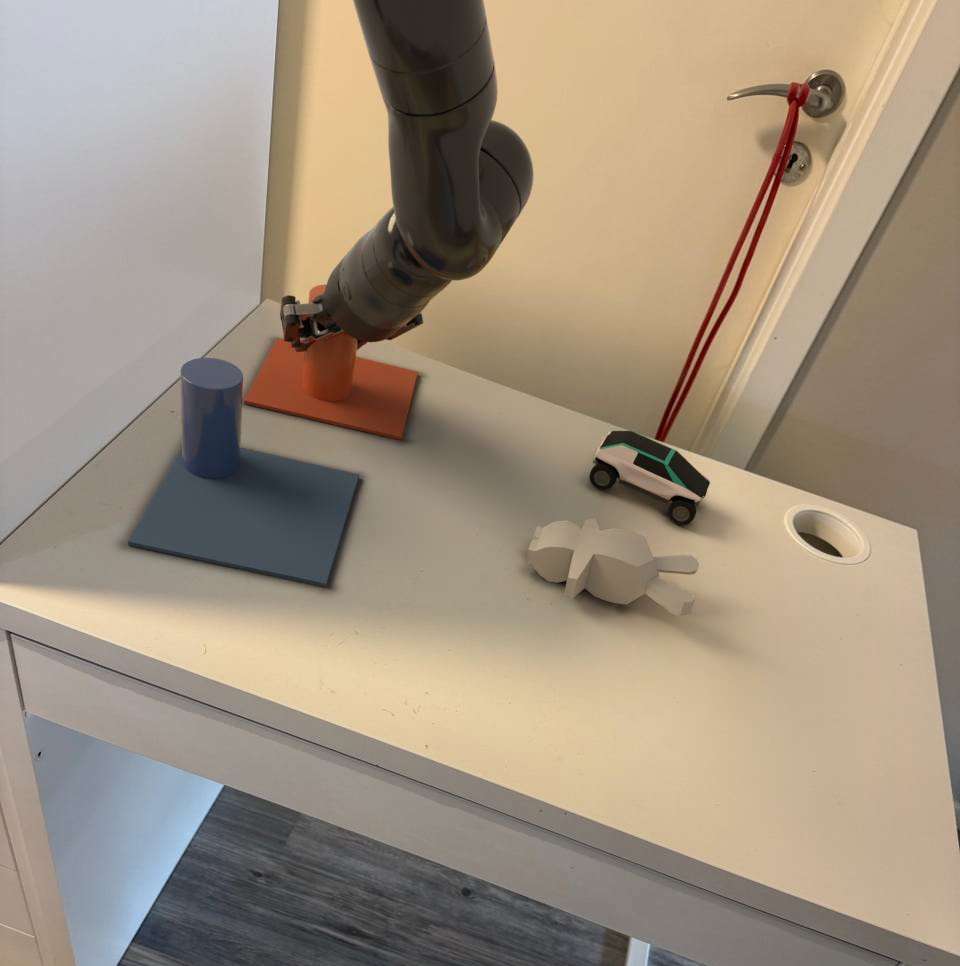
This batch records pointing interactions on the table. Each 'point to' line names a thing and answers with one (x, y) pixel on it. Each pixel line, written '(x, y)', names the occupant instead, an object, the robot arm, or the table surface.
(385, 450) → the table surface
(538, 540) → the bunny figurine
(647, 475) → the toy car
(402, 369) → the terracotta mat
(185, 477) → the blue mat
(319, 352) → the terracotta canister
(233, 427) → the blue canister
